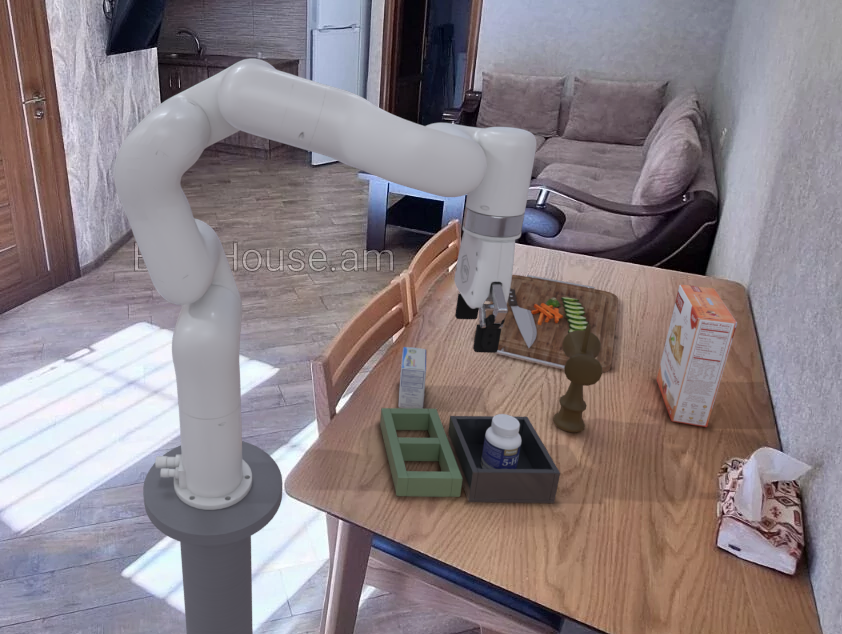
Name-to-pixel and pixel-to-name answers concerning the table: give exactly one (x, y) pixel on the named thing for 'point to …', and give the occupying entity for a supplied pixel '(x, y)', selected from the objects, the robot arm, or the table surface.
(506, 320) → the chopping board
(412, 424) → the rack
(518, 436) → the pill bottle
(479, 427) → the dark grey open bin
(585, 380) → the kendama
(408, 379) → the medicine box
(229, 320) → the robot arm
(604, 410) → the table surface
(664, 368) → the cracker box
